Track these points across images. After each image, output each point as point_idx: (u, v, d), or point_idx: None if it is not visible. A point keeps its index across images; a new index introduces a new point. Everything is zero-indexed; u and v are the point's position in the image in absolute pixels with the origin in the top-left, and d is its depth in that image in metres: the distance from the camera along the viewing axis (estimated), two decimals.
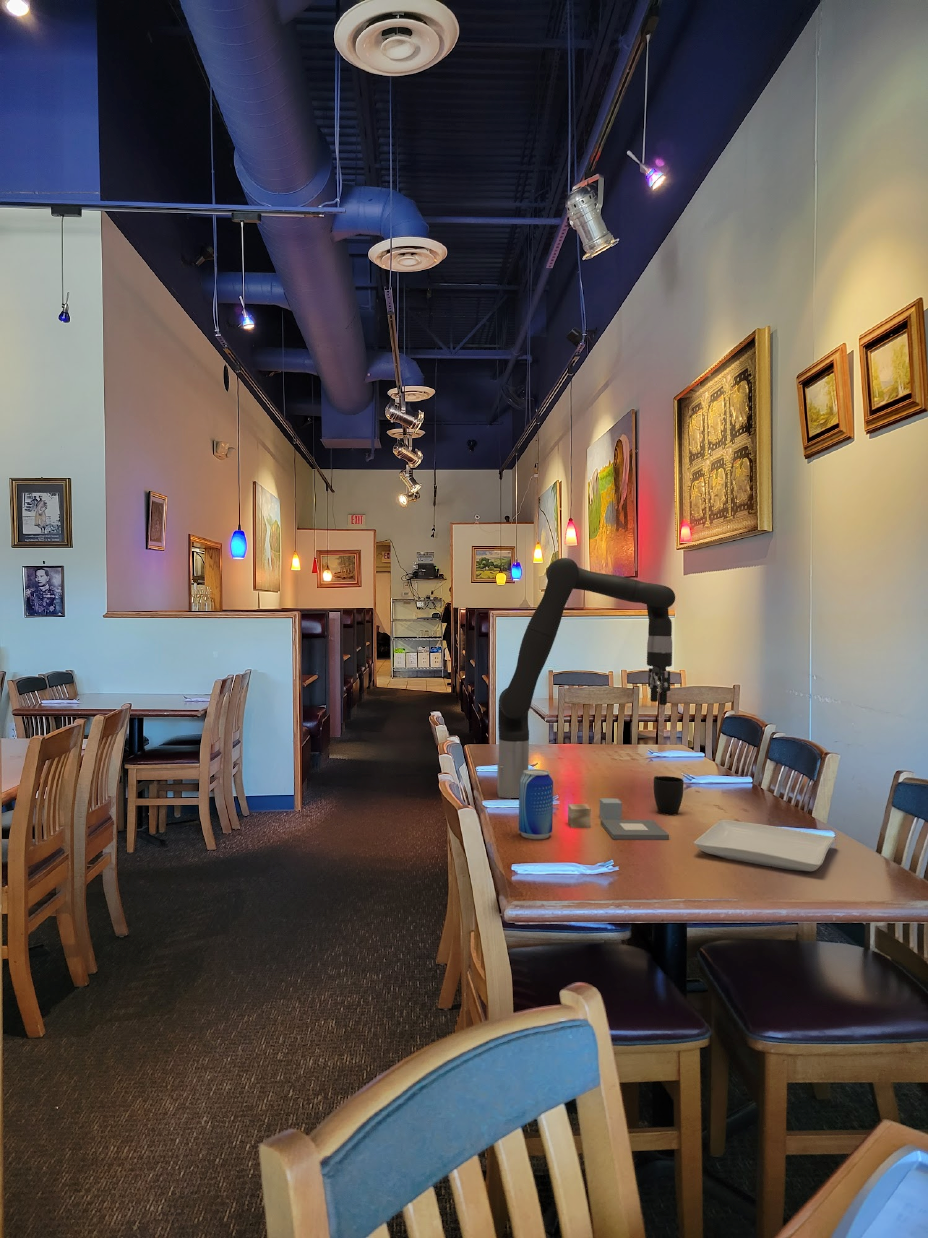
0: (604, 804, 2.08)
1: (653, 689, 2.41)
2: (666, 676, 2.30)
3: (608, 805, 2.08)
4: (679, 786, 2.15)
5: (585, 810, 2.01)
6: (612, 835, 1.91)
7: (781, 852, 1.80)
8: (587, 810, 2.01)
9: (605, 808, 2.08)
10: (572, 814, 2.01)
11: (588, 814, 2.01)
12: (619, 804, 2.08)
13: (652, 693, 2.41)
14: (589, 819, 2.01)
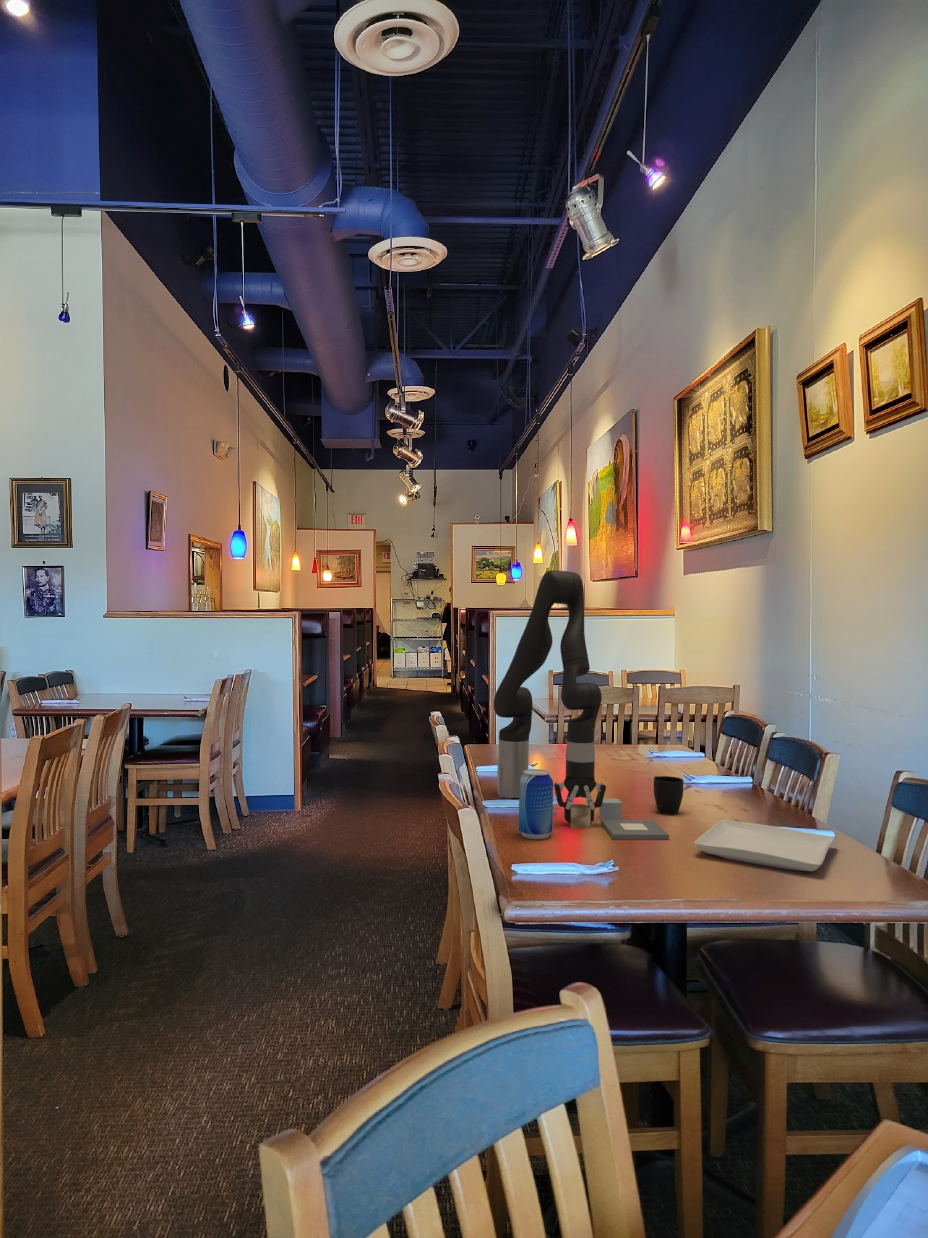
0: (604, 804, 2.08)
1: (569, 808, 2.03)
2: None
3: (608, 805, 2.08)
4: (679, 786, 2.15)
5: (585, 810, 2.01)
6: (612, 835, 1.91)
7: (781, 852, 1.80)
8: (587, 810, 2.01)
9: (605, 808, 2.08)
10: (572, 814, 2.01)
11: (588, 814, 2.01)
12: (619, 804, 2.08)
13: None
14: (589, 819, 2.01)
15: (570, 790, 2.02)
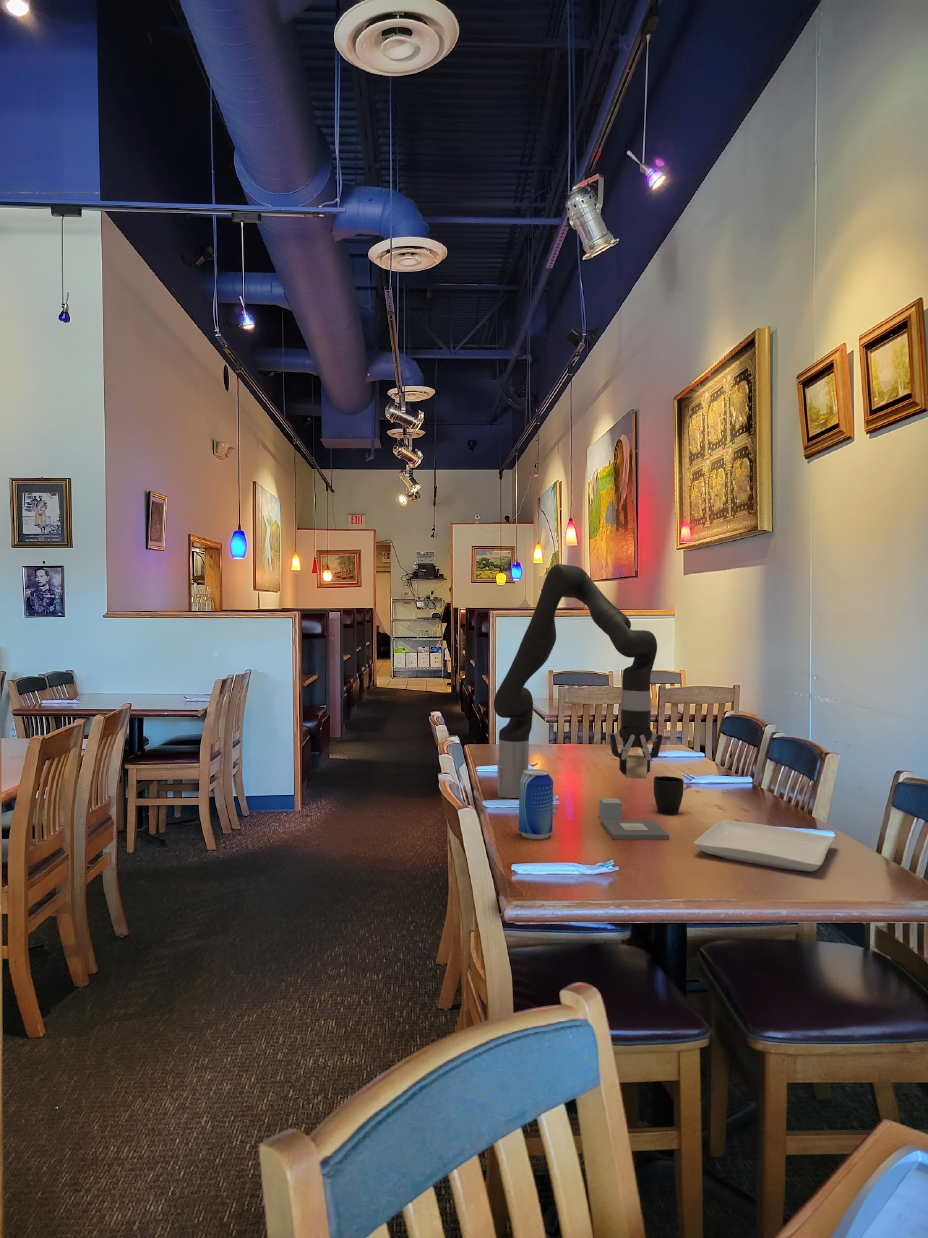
0: (604, 804, 2.08)
1: None
2: None
3: (608, 805, 2.08)
4: (679, 786, 2.15)
5: (641, 760, 1.95)
6: (612, 835, 1.91)
7: (781, 852, 1.80)
8: (643, 760, 1.95)
9: (605, 808, 2.08)
10: (628, 764, 1.95)
11: (644, 764, 1.95)
12: (619, 804, 2.08)
13: None
14: (645, 769, 1.95)
15: (626, 740, 1.96)
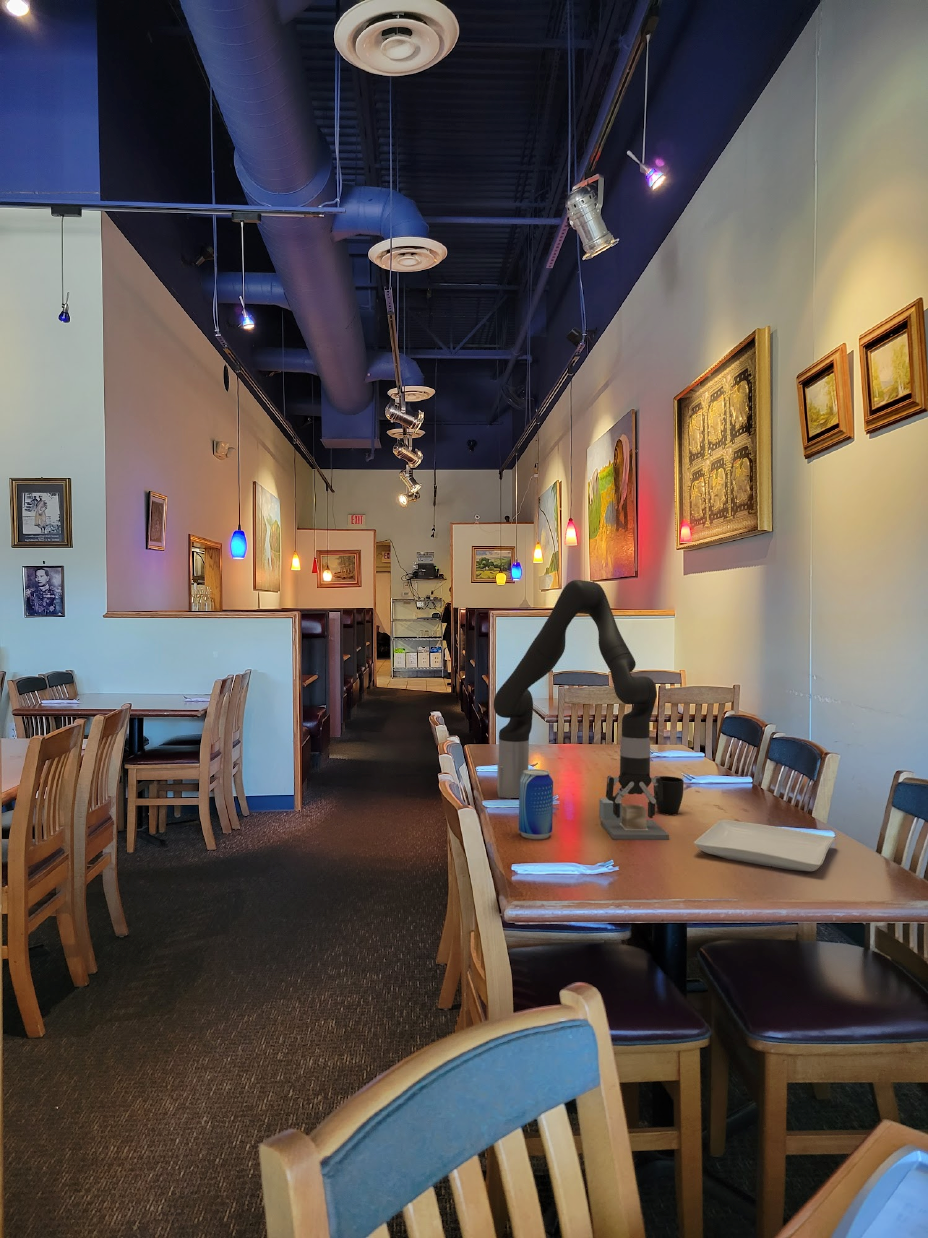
0: (604, 804, 2.08)
1: (618, 802, 1.97)
2: None
3: (608, 805, 2.08)
4: (679, 786, 2.15)
5: (641, 811, 1.95)
6: (612, 835, 1.91)
7: (781, 852, 1.80)
8: (643, 811, 1.95)
9: (605, 808, 2.08)
10: (627, 815, 1.95)
11: (644, 815, 1.95)
12: None
13: None
14: (645, 820, 1.95)
15: (624, 785, 1.96)
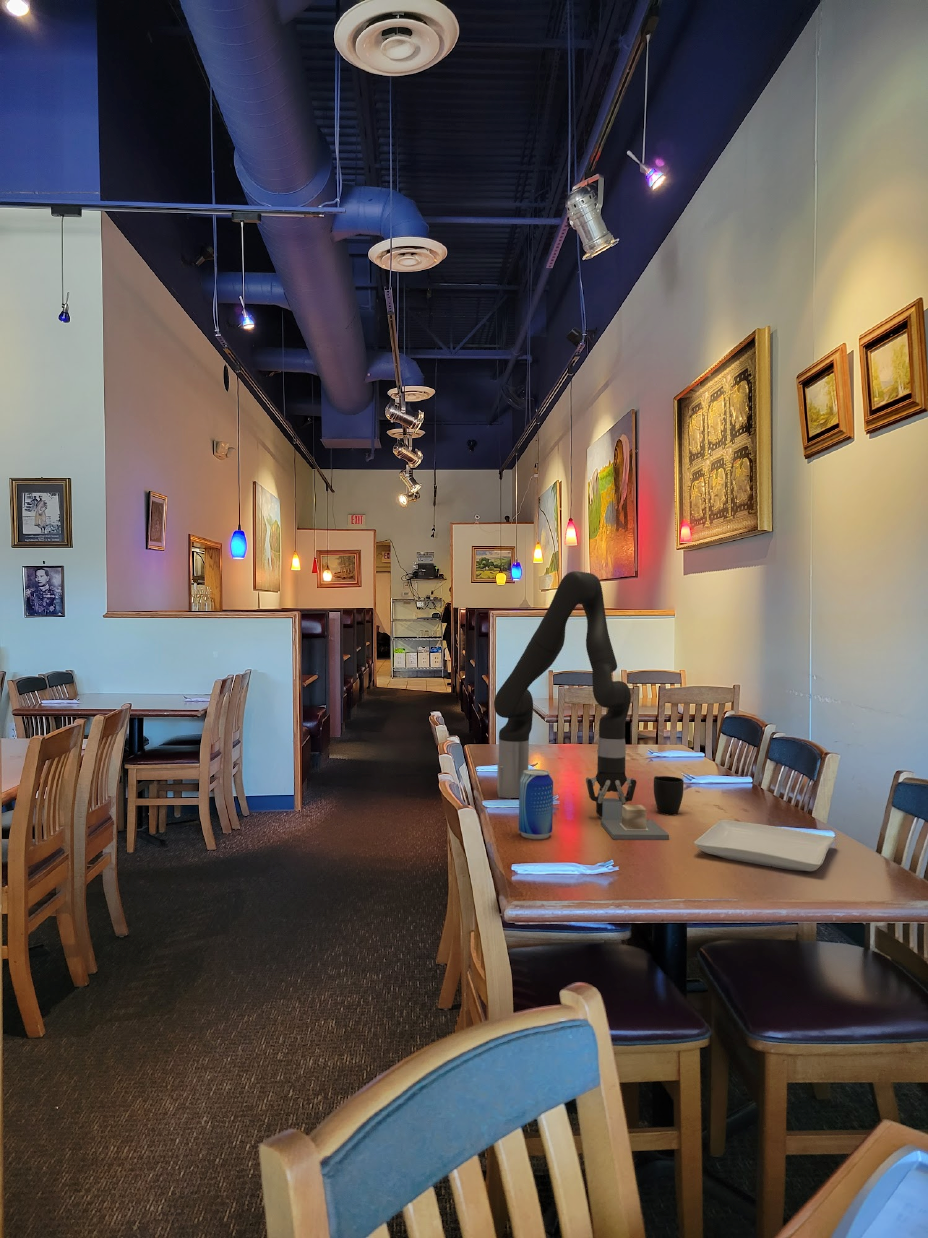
0: (604, 804, 2.08)
1: (601, 802, 2.10)
2: None
3: (608, 805, 2.08)
4: (679, 786, 2.15)
5: (641, 811, 1.95)
6: (612, 835, 1.91)
7: (781, 852, 1.80)
8: (643, 811, 1.95)
9: (605, 808, 2.08)
10: (627, 815, 1.95)
11: (644, 815, 1.95)
12: (619, 804, 2.08)
13: None
14: (645, 820, 1.95)
15: (602, 785, 2.09)
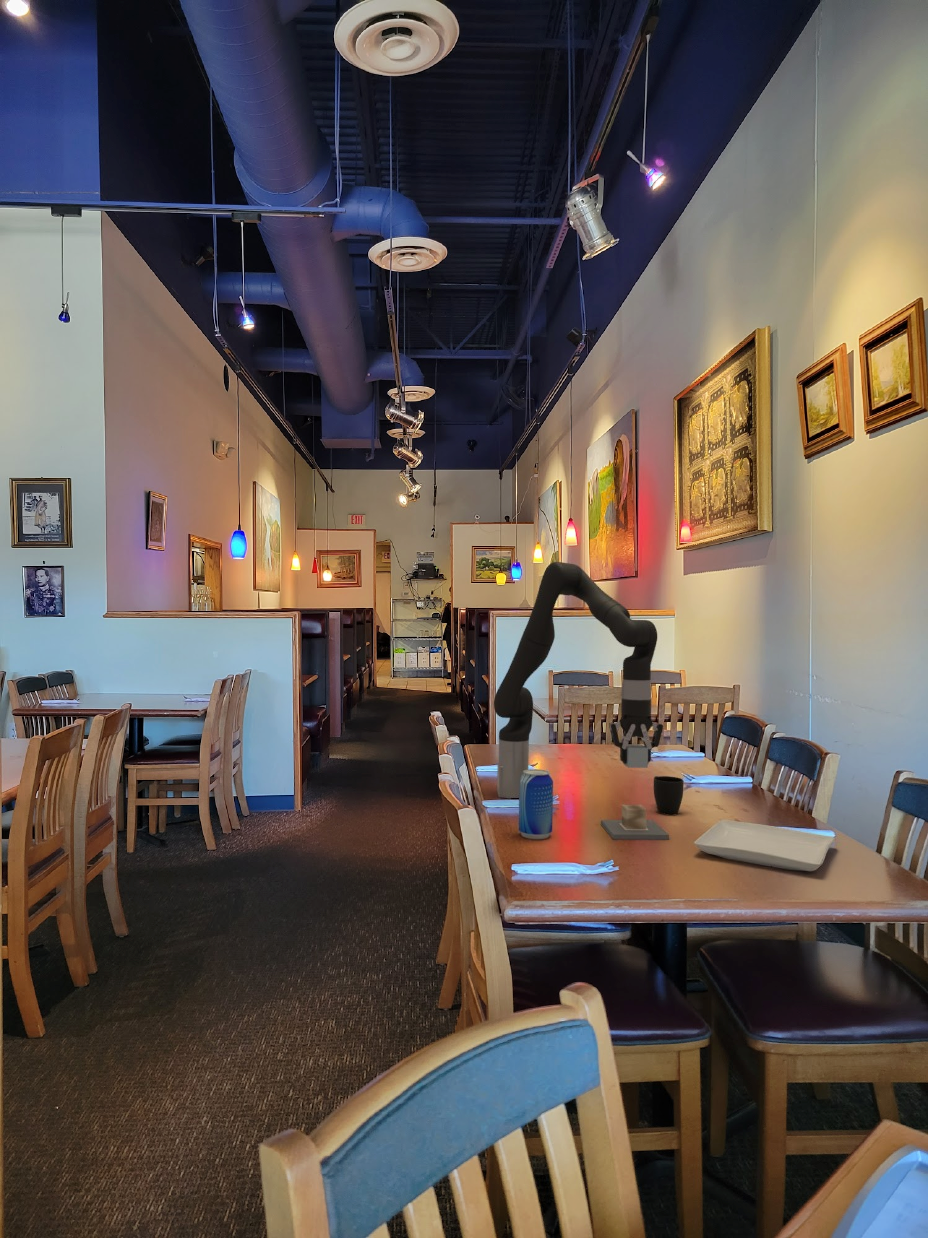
0: (629, 749, 1.95)
1: None
2: None
3: (633, 750, 1.95)
4: (679, 786, 2.15)
5: (641, 811, 1.95)
6: (612, 835, 1.91)
7: (781, 852, 1.80)
8: (643, 811, 1.95)
9: (630, 753, 1.95)
10: (627, 815, 1.95)
11: (644, 815, 1.95)
12: (645, 749, 1.95)
13: None
14: (645, 820, 1.95)
15: (626, 729, 1.97)
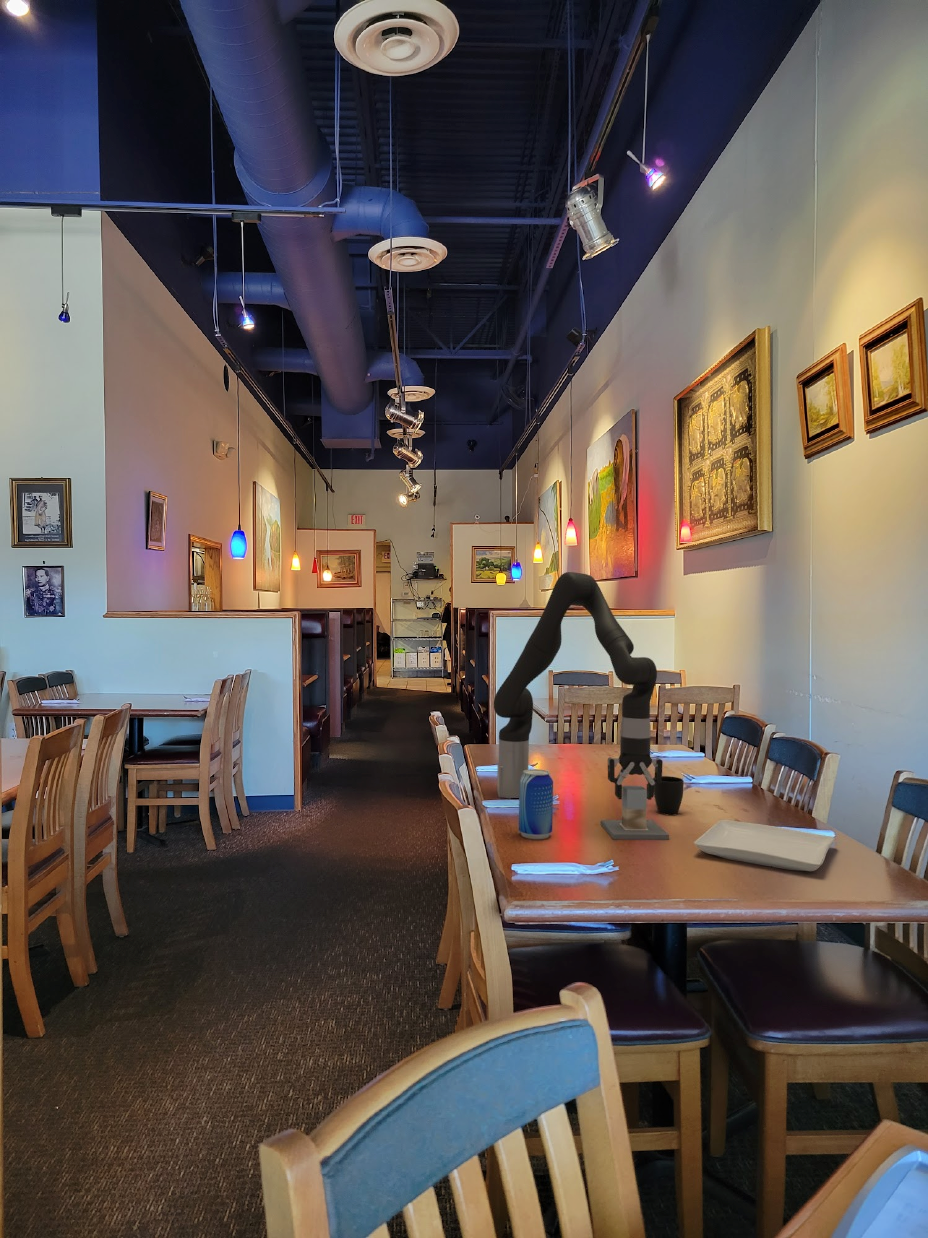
0: (628, 791, 1.95)
1: (620, 784, 1.97)
2: None
3: (632, 792, 1.95)
4: (679, 786, 2.15)
5: (641, 811, 1.95)
6: (612, 835, 1.91)
7: (781, 852, 1.80)
8: (643, 811, 1.95)
9: (629, 795, 1.95)
10: (627, 815, 1.95)
11: (644, 815, 1.95)
12: (644, 791, 1.95)
13: None
14: (645, 820, 1.95)
15: (625, 766, 1.96)
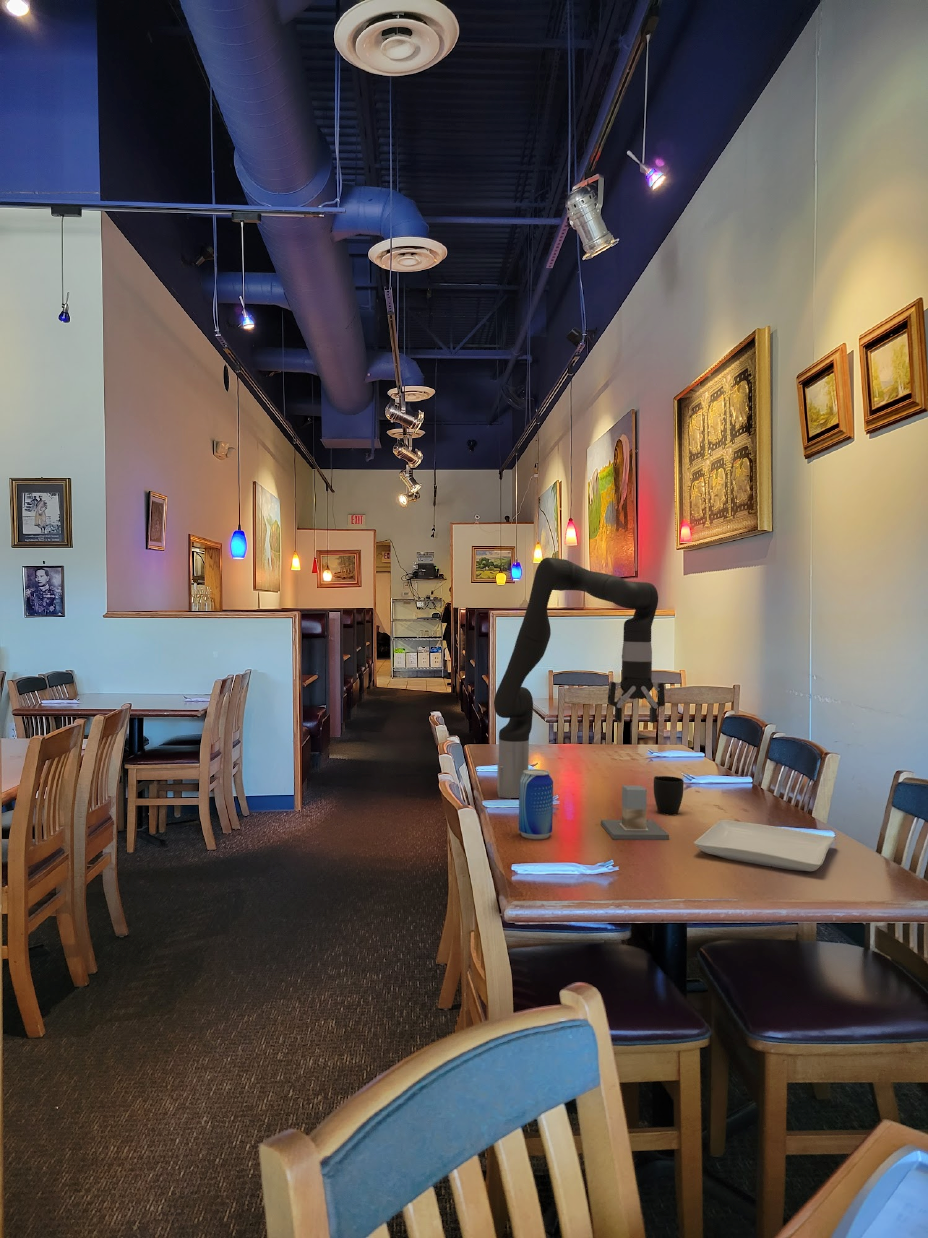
0: (628, 791, 1.95)
1: (620, 707, 1.97)
2: None
3: (632, 792, 1.95)
4: (679, 786, 2.15)
5: (641, 811, 1.95)
6: (612, 835, 1.91)
7: (781, 852, 1.80)
8: (643, 811, 1.95)
9: (629, 795, 1.95)
10: (627, 815, 1.95)
11: (644, 815, 1.95)
12: (644, 791, 1.95)
13: None
14: (645, 820, 1.95)
15: (626, 689, 1.96)
